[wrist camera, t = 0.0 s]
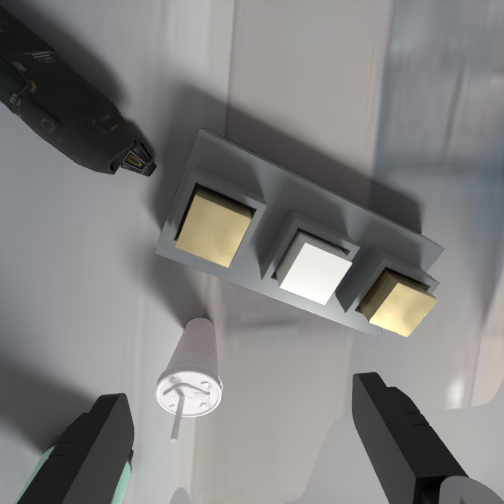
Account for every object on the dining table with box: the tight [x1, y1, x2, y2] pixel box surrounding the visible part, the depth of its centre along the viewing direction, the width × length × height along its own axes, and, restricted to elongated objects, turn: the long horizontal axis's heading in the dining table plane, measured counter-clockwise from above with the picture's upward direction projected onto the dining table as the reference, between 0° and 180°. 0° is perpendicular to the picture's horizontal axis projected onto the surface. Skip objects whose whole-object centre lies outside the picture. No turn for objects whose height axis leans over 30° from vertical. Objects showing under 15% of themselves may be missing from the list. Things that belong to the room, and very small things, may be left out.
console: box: [154, 128, 445, 336], centre depth 29 cm, size 12×26×7 cm, turn 65°
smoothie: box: [155, 318, 223, 443], centre depth 30 cm, size 6×6×14 cm
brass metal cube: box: [175, 186, 252, 267], centre depth 23 cm, size 4×4×3 cm
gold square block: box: [358, 268, 438, 337], centre depth 27 cm, size 4×4×3 cm
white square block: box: [275, 229, 352, 305], centre depth 25 cm, size 4×4×3 cm
